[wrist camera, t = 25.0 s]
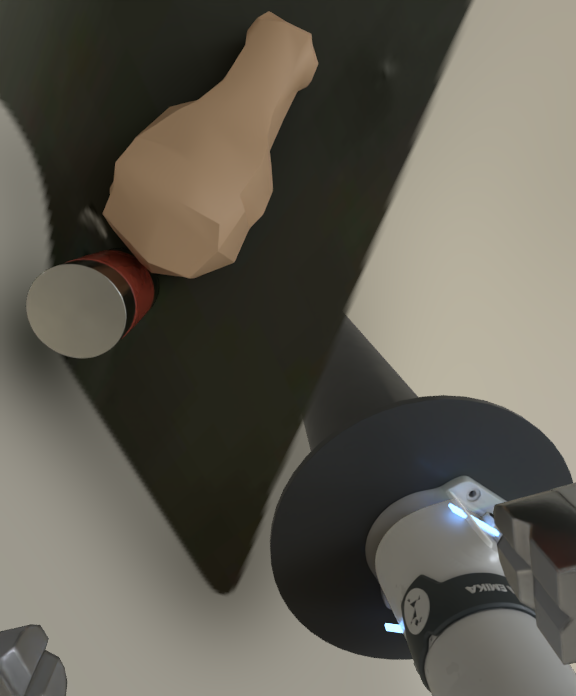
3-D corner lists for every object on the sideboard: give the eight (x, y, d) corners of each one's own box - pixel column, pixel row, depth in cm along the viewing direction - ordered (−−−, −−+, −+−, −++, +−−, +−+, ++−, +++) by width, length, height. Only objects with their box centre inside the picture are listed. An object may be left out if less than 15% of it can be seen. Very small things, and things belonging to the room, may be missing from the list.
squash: (104, 237, 38) (46, 217, 29) (229, 19, 36) (210, -75, 27) (215, 307, 38) (193, 308, 29) (344, 96, 36) (363, 29, 28)
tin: (170, 265, 38) (140, 287, 28) (146, 329, 40) (109, 373, 29) (99, 235, 37) (40, 246, 27) (77, 301, 39) (13, 337, 28)
